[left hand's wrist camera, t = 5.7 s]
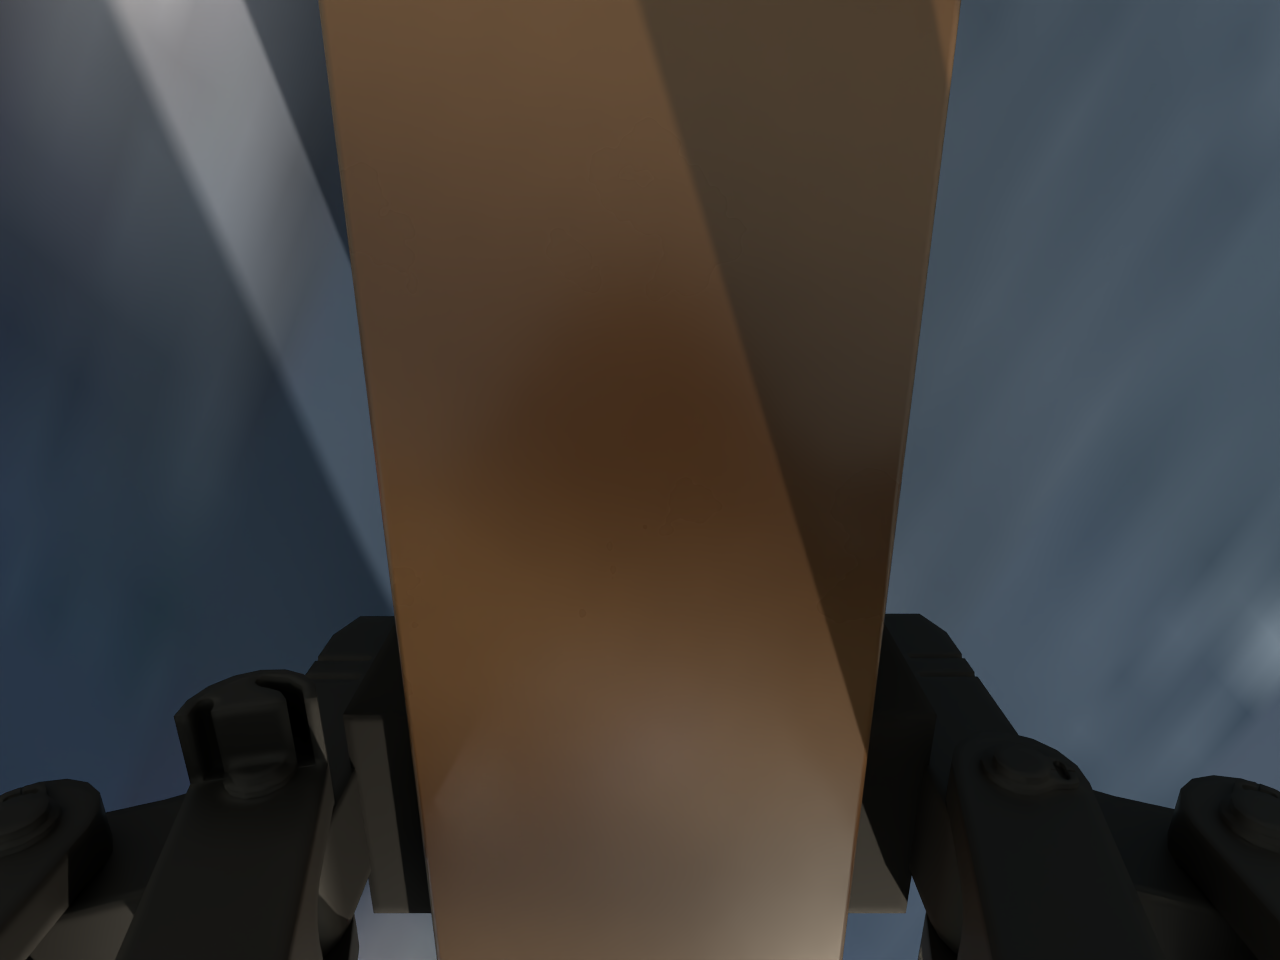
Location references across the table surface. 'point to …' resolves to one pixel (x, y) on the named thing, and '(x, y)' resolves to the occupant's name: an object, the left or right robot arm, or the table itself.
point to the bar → (639, 443)
